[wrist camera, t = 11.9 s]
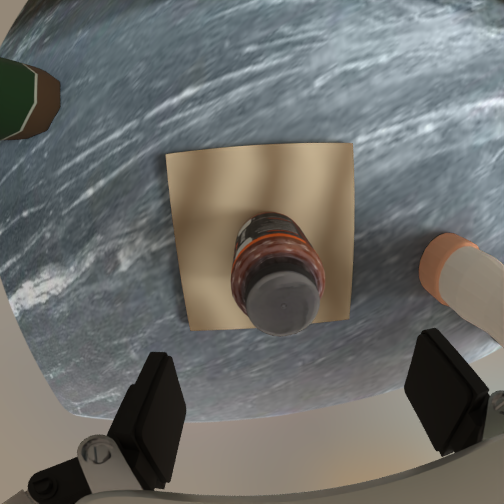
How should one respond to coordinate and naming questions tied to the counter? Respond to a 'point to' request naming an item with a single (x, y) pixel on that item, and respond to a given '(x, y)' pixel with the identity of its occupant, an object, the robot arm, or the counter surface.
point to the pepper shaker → (465, 282)
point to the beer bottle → (26, 100)
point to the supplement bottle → (276, 275)
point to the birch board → (255, 202)
